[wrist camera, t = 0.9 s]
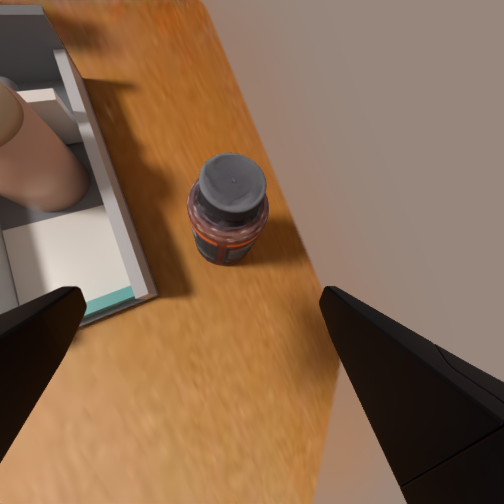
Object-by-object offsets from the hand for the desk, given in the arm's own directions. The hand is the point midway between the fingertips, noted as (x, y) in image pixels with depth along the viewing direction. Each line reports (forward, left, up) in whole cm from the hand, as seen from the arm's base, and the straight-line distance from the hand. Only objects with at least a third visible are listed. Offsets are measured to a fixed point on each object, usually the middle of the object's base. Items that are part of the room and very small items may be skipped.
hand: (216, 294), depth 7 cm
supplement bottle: (+3, -6, -14) cm, 15 cm away
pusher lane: (+19, +1, -13) cm, 23 cm away
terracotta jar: (+20, 0, -12) cm, 23 cm away
